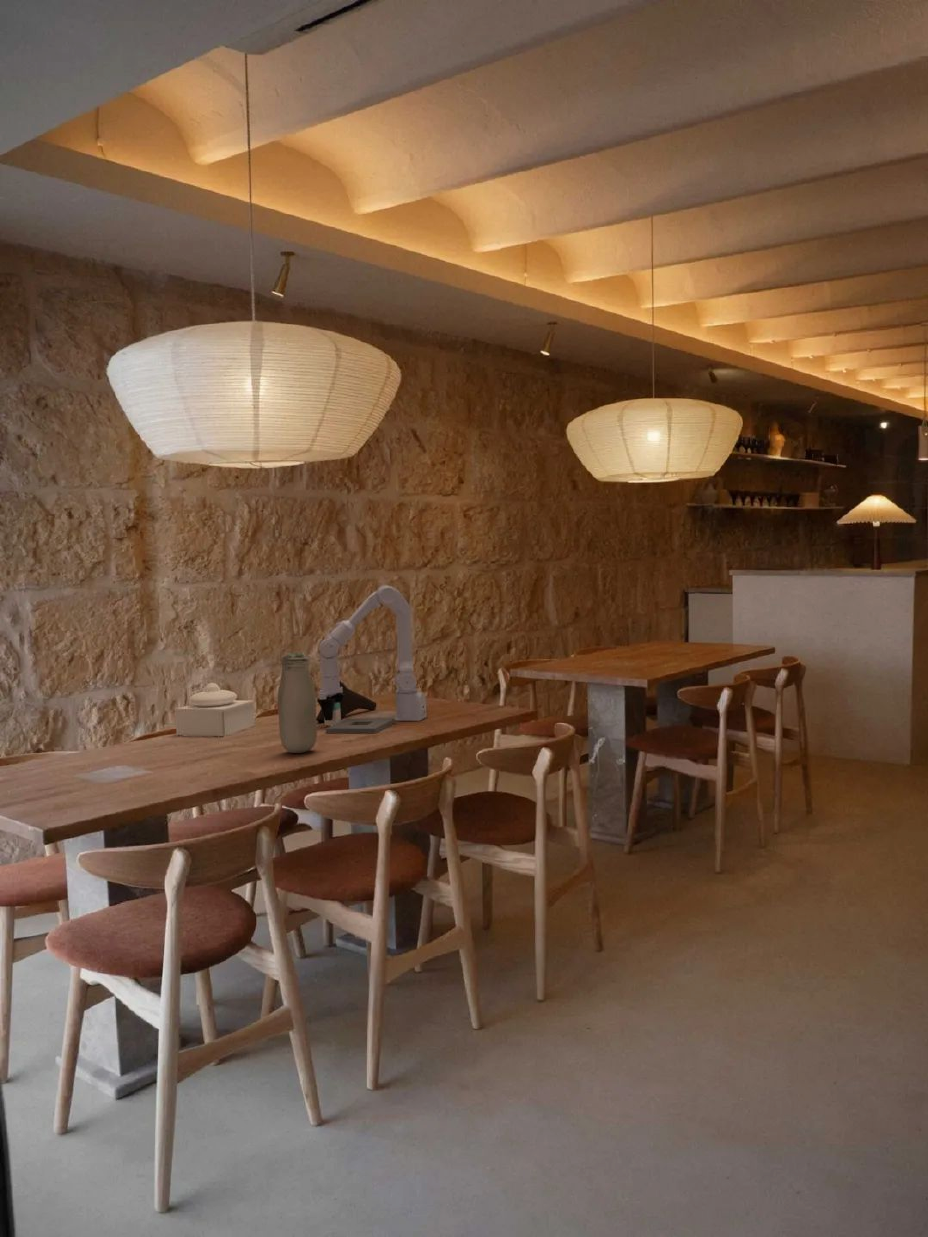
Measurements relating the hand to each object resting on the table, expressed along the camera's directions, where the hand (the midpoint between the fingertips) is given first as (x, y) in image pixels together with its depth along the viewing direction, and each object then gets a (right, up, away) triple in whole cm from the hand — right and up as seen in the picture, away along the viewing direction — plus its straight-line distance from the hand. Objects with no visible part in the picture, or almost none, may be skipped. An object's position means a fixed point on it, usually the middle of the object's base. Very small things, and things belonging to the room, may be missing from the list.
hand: (332, 718), depth 319 cm
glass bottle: (-3, -5, -43) cm, 44 cm away
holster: (+3, -1, +16) cm, 16 cm away
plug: (0, -2, 0) cm, 2 cm away
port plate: (+10, -2, -9) cm, 14 cm away
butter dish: (-37, -4, -2) cm, 37 cm away
